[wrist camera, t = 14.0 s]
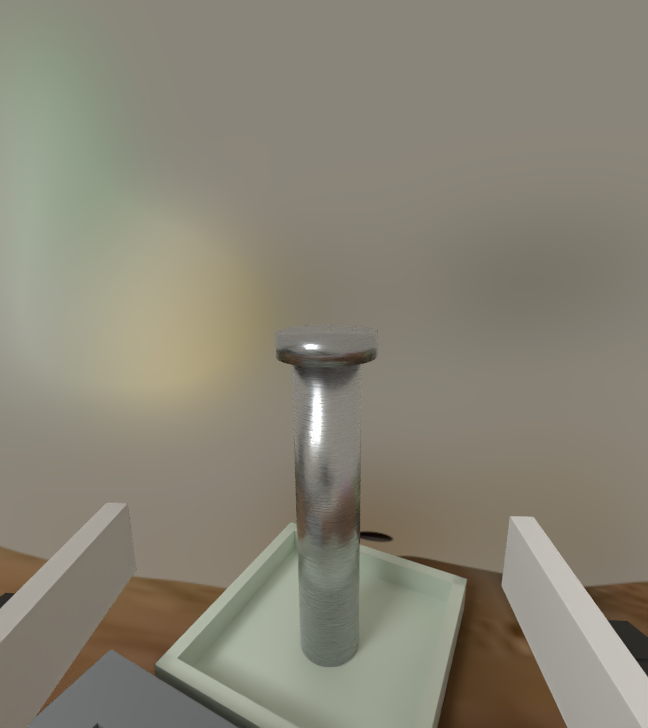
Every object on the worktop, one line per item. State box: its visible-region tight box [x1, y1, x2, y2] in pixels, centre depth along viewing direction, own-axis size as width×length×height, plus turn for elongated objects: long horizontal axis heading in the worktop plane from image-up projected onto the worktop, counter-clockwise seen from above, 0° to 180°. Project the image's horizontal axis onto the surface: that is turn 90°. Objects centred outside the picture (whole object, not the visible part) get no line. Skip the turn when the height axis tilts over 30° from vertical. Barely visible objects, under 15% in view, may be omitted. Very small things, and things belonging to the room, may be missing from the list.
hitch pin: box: [275, 325, 378, 667], centre depth 23 cm, size 5×5×19 cm
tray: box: [155, 522, 467, 728], centre depth 26 cm, size 14×14×2 cm
